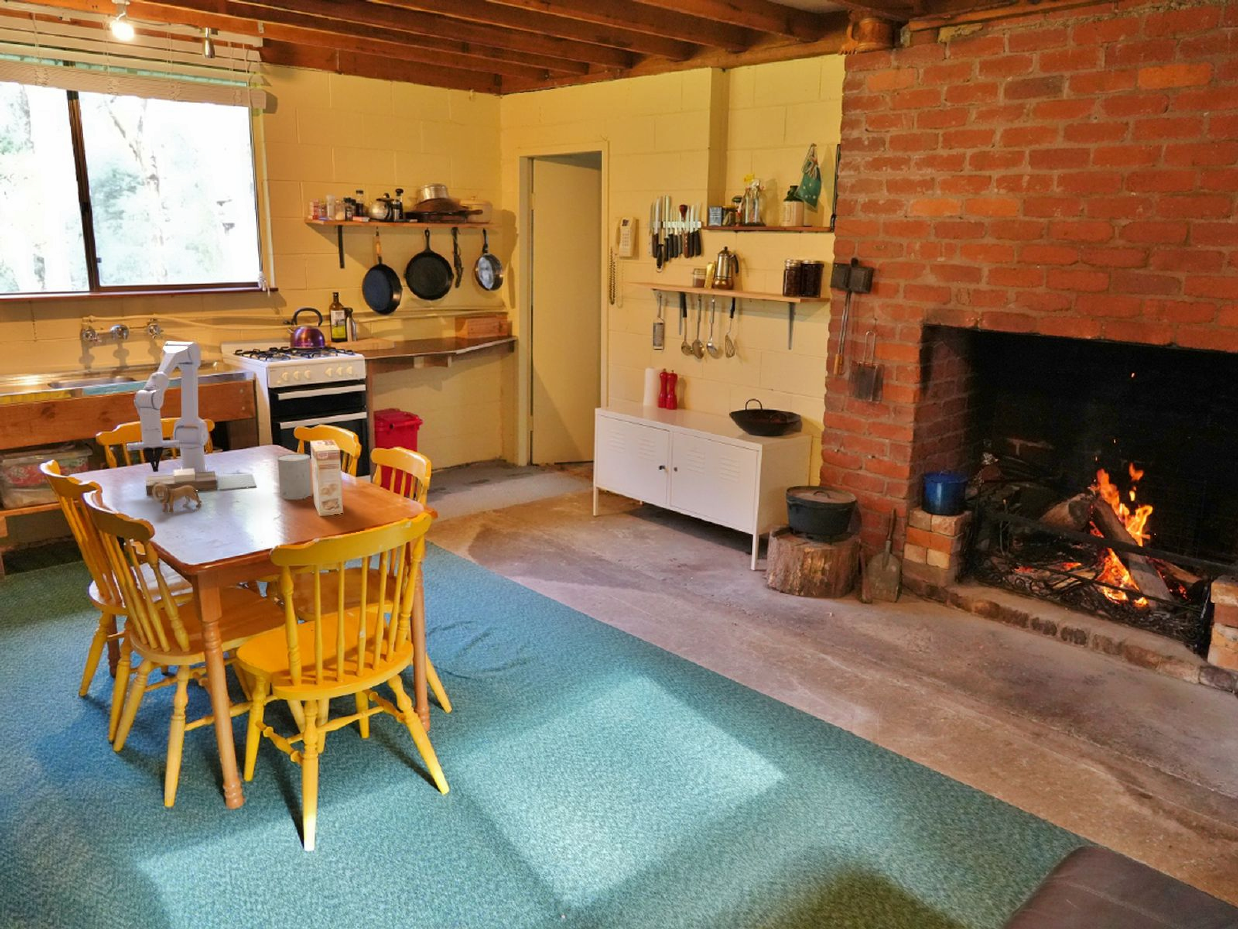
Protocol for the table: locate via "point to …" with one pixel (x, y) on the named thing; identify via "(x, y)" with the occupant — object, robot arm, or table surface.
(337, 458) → the coffeecake box
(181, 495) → the lion figurine
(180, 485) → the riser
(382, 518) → the table surface
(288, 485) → the grey cylinder
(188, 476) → the tile
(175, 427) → the robot arm
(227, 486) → the mat
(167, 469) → the table surface
